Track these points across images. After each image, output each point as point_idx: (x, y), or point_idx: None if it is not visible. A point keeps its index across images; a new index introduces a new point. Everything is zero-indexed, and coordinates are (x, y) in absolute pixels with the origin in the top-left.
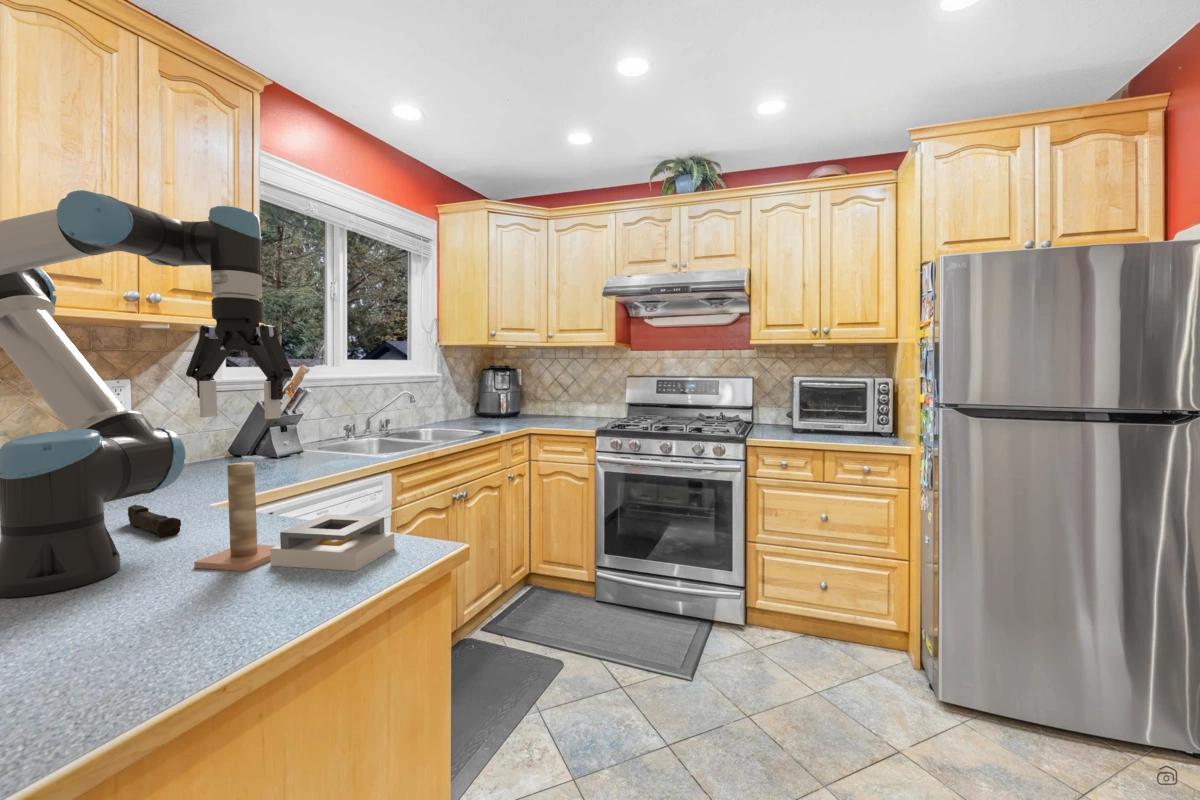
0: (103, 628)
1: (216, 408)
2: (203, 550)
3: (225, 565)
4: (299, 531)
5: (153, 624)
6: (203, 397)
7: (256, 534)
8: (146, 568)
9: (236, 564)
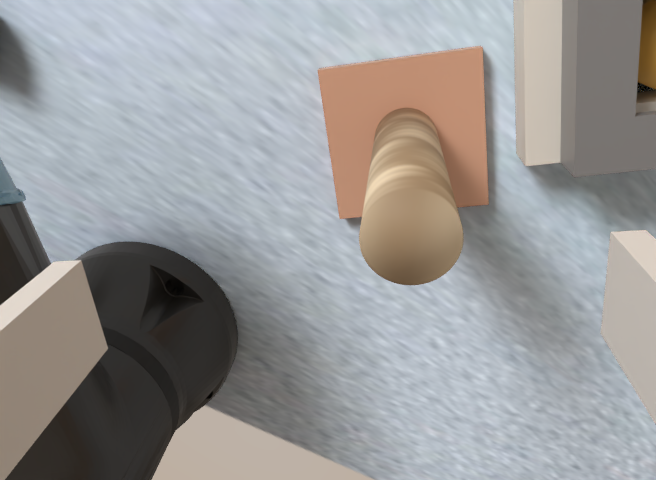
0: (472, 439)
1: (50, 288)
2: (227, 108)
3: None
4: (631, 155)
5: (538, 417)
6: (31, 438)
7: (434, 132)
8: (239, 242)
9: (458, 206)
